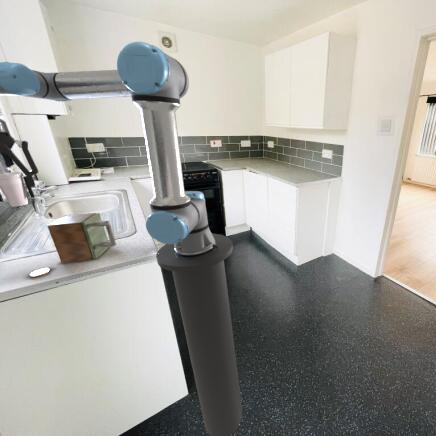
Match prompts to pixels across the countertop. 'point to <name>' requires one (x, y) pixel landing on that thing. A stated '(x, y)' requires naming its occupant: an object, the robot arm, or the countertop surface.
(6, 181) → the smoothie
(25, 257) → the countertop surface
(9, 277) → the countertop surface
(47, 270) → the coaster
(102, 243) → the door
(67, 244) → the cabinet
